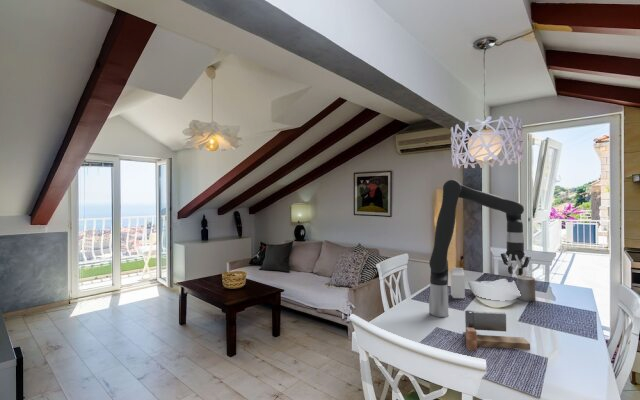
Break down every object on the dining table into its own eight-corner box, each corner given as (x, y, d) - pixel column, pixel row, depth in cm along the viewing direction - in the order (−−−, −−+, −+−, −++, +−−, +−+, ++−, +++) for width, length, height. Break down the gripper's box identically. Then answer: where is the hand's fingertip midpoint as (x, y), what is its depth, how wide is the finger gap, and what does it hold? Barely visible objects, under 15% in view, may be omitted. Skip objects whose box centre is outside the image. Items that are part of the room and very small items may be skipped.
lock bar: (466, 335, 146) (466, 312, 146) (464, 331, 150) (464, 310, 150) (507, 337, 143) (506, 314, 143) (504, 334, 146) (503, 312, 146)
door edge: (468, 350, 133) (468, 331, 133) (457, 331, 151) (457, 315, 151) (535, 354, 128) (535, 335, 128) (515, 335, 147) (515, 318, 147)
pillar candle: (532, 297, 201) (531, 274, 201) (537, 302, 192) (536, 277, 192) (515, 296, 204) (514, 273, 204) (519, 301, 195) (518, 276, 195)
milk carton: (465, 298, 200) (464, 269, 200) (453, 298, 202) (452, 268, 202) (462, 295, 207) (461, 266, 207) (450, 295, 209) (450, 266, 209)
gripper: (497, 240, 164) (497, 273, 164) (527, 243, 152) (527, 278, 152) (504, 239, 168) (504, 271, 168) (533, 241, 156) (534, 276, 156)
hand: (515, 274), depth 160 cm, fingers open, 3 cm apart
